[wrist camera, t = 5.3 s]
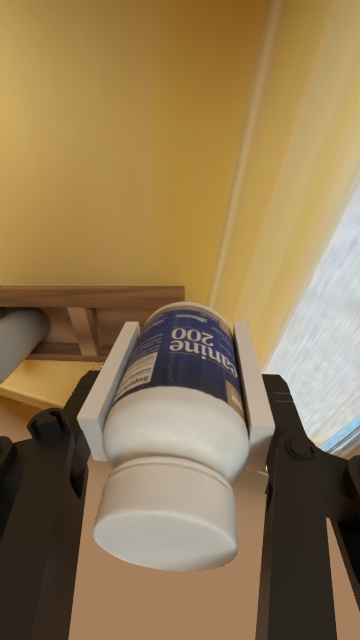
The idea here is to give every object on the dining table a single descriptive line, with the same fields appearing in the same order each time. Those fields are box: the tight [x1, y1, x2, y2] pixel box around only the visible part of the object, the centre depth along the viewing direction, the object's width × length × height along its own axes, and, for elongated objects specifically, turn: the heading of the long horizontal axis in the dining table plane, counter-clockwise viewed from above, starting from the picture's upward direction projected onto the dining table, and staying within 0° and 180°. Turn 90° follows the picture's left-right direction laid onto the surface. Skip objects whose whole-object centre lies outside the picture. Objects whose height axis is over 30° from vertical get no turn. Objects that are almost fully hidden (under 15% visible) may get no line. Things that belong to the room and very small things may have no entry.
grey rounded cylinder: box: [0, 307, 51, 384], centre depth 29 cm, size 5×5×9 cm
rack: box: [0, 286, 185, 362], centre depth 32 cm, size 9×24×4 cm, turn 92°
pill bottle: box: [93, 302, 249, 572], centre depth 11 cm, size 5×5×10 cm
